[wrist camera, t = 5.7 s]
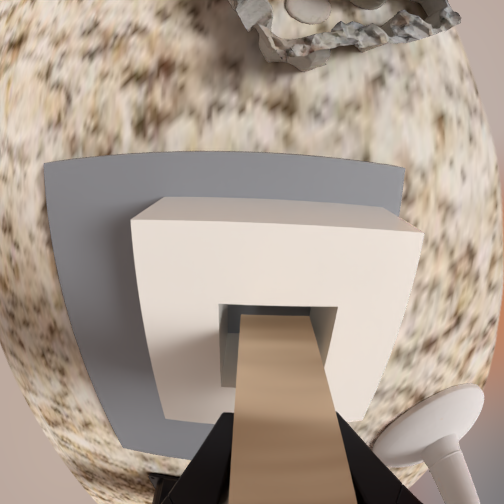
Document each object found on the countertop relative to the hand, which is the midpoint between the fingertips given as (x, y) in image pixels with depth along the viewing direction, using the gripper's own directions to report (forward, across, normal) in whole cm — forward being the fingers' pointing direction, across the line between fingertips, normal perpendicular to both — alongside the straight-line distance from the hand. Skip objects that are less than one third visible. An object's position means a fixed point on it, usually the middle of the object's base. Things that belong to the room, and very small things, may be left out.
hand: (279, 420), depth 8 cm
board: (+8, +3, +5) cm, 10 cm away
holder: (+7, 0, 0) cm, 7 cm away
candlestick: (+9, -18, +16) cm, 25 cm away
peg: (+4, 0, 0) cm, 4 cm away
